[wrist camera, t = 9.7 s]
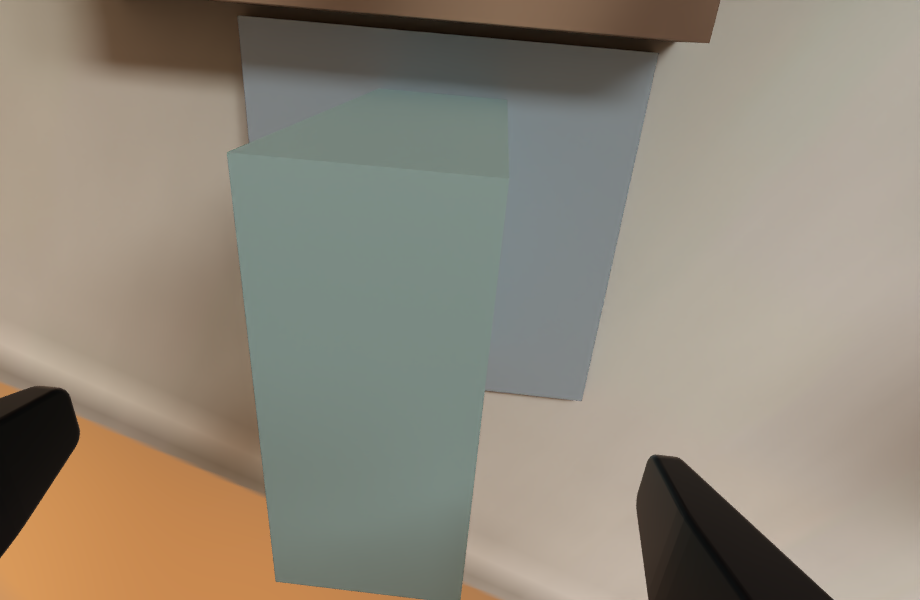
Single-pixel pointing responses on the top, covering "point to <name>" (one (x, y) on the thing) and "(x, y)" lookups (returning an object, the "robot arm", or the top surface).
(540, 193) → the mat
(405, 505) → the tall sage green box
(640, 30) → the tray
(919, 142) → the top surface
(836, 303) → the top surface
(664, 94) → the top surface
